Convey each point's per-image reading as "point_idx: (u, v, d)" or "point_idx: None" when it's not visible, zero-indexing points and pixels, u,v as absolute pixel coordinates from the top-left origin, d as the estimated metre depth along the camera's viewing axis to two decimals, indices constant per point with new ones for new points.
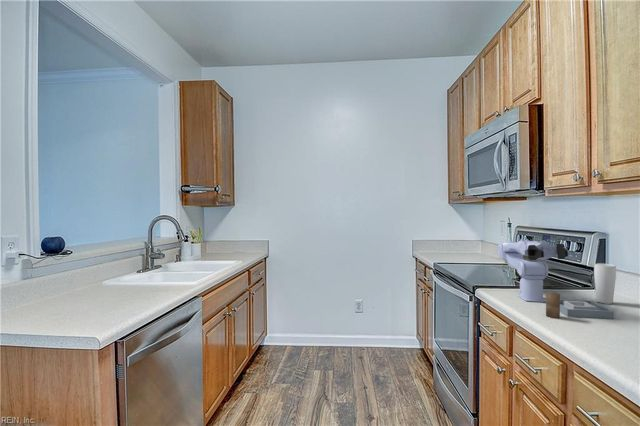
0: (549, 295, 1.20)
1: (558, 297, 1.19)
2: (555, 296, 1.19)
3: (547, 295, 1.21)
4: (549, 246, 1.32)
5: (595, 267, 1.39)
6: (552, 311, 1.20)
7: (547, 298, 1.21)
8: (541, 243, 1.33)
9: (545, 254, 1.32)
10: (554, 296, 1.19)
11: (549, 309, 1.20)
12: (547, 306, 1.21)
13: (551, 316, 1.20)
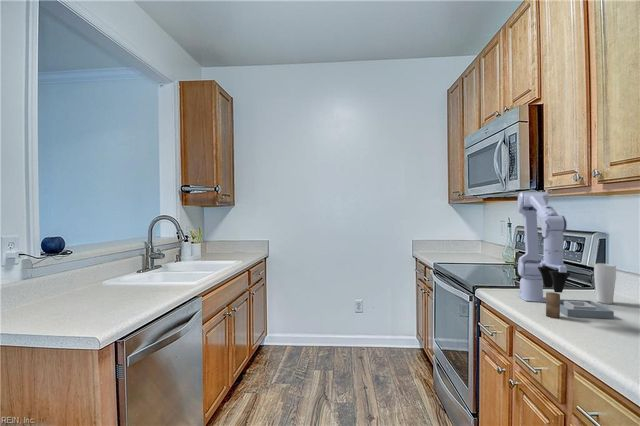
0: (549, 295, 1.20)
1: (558, 297, 1.19)
2: (555, 296, 1.19)
3: (547, 295, 1.21)
4: (549, 266, 1.20)
5: (595, 267, 1.39)
6: (552, 311, 1.20)
7: (547, 298, 1.21)
8: None
9: None
10: (554, 296, 1.19)
11: (549, 309, 1.20)
12: (547, 306, 1.21)
13: (551, 316, 1.20)
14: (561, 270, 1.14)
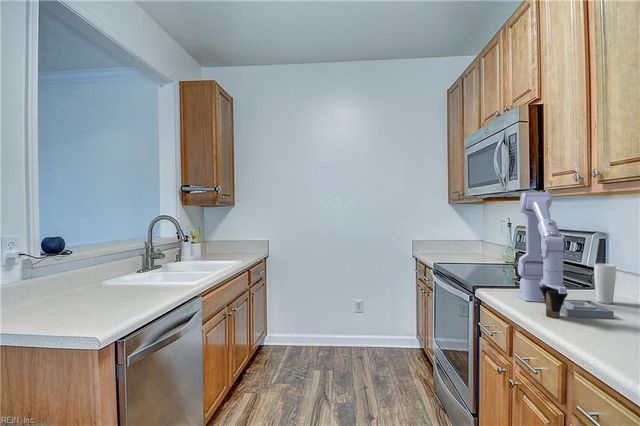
0: None
1: None
2: None
3: (547, 295, 1.21)
4: (549, 286, 1.20)
5: (595, 267, 1.39)
6: (552, 311, 1.20)
7: (547, 298, 1.21)
8: None
9: None
10: None
11: (549, 309, 1.20)
12: (547, 306, 1.21)
13: (551, 316, 1.20)
14: (561, 291, 1.14)
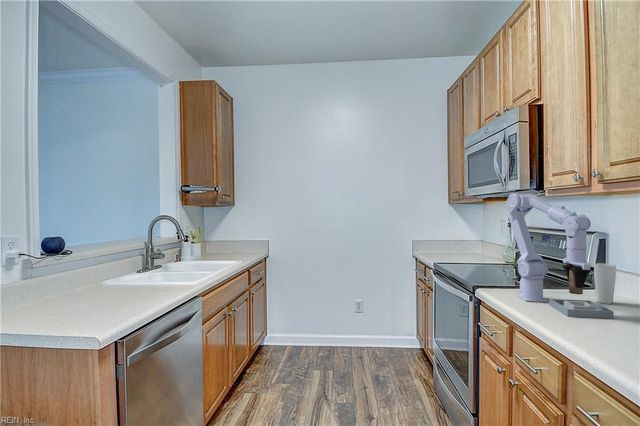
0: None
1: None
2: None
3: (570, 272, 1.26)
4: (573, 263, 1.24)
5: (595, 267, 1.39)
6: (575, 288, 1.24)
7: (571, 275, 1.25)
8: None
9: None
10: None
11: (572, 286, 1.25)
12: (570, 283, 1.26)
13: (574, 292, 1.25)
14: (585, 267, 1.19)
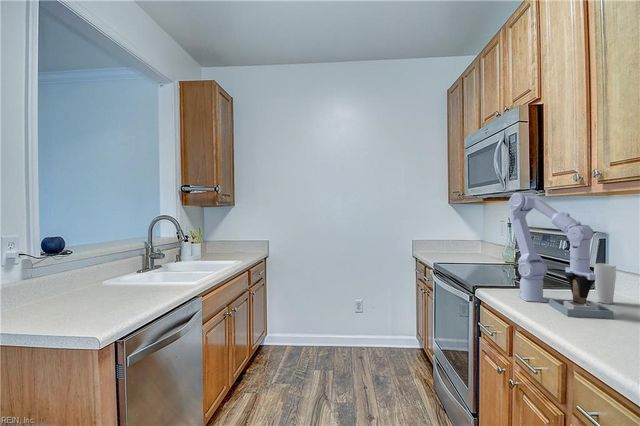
0: None
1: None
2: None
3: (574, 282, 1.26)
4: (577, 273, 1.25)
5: (595, 267, 1.39)
6: (579, 297, 1.25)
7: (575, 284, 1.26)
8: (569, 272, 1.28)
9: None
10: None
11: (576, 296, 1.26)
12: (574, 292, 1.26)
13: (579, 302, 1.25)
14: (590, 278, 1.19)
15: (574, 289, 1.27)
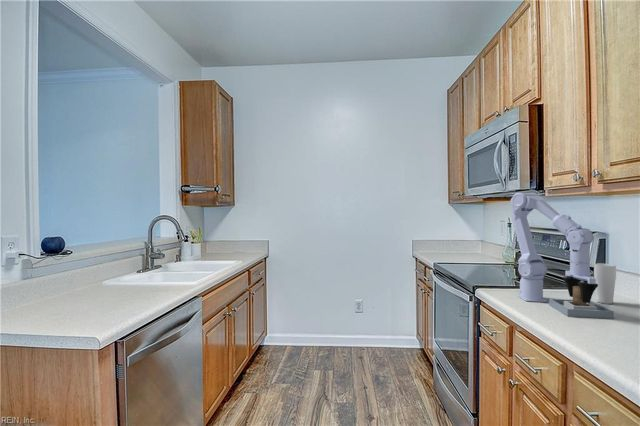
0: (576, 289, 1.26)
1: None
2: None
3: (574, 289, 1.27)
4: None
5: (595, 267, 1.39)
6: (579, 304, 1.25)
7: (575, 291, 1.26)
8: (569, 275, 1.28)
9: None
10: None
11: (576, 302, 1.26)
12: (574, 299, 1.27)
13: None
14: (590, 281, 1.20)
15: (574, 296, 1.27)
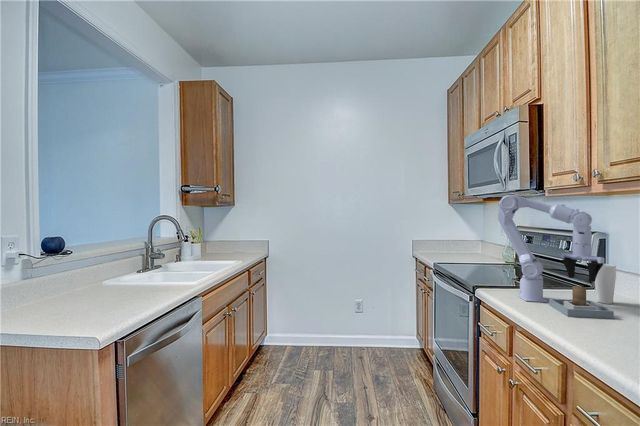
0: (576, 289, 1.26)
1: (585, 290, 1.25)
2: (582, 289, 1.25)
3: (574, 289, 1.27)
4: None
5: None
6: (579, 304, 1.25)
7: (575, 291, 1.26)
8: (574, 257, 1.32)
9: None
10: (581, 289, 1.25)
11: (576, 302, 1.26)
12: (574, 299, 1.27)
13: None
14: (601, 261, 1.26)
15: (574, 296, 1.27)
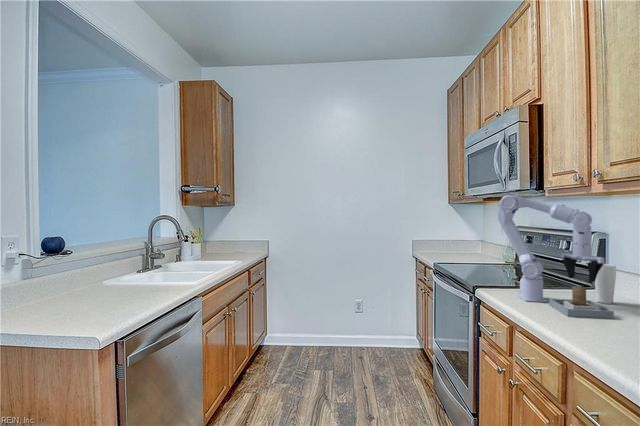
0: (576, 289, 1.26)
1: (585, 290, 1.25)
2: (582, 289, 1.25)
3: (574, 289, 1.27)
4: None
5: None
6: (579, 304, 1.25)
7: (575, 291, 1.26)
8: (574, 257, 1.32)
9: None
10: (581, 289, 1.25)
11: (576, 302, 1.26)
12: (574, 299, 1.27)
13: None
14: (601, 261, 1.26)
15: (574, 296, 1.27)
